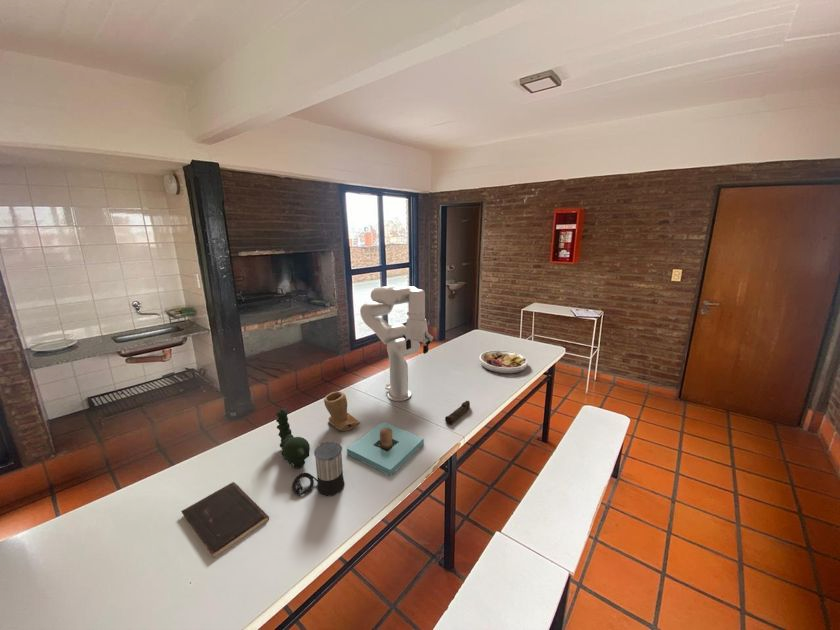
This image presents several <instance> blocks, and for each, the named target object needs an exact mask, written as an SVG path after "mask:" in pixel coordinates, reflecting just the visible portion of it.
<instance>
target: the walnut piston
mask: <svg viewBox="0 0 840 630" xmlns="http://www.w3.org/2000/svg"><path fill="white" fill-rule="evenodd" d="M392 447H394V444H392V429H390V428H383V429H381V430H380V445H379V448H380V449H383V450H385V451H387V452H388V451H389V450H390V449H391V448H392Z"/></svg>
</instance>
